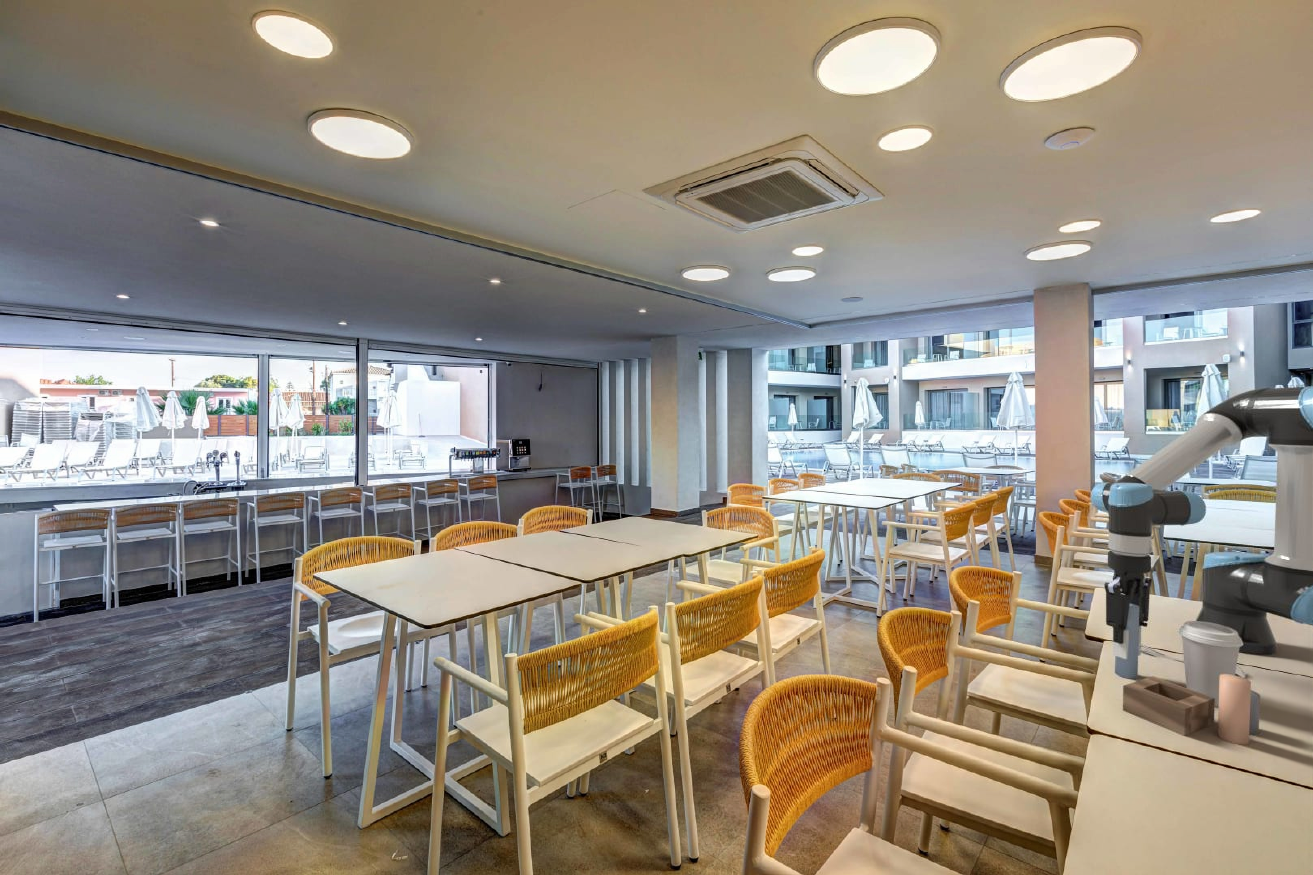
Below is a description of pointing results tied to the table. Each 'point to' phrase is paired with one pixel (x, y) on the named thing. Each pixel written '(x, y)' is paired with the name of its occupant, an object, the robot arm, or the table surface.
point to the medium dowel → (1234, 709)
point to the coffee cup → (1208, 655)
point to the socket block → (1169, 705)
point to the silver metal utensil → (1160, 655)
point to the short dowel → (1254, 712)
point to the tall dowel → (1130, 647)
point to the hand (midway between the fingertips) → (1126, 654)
